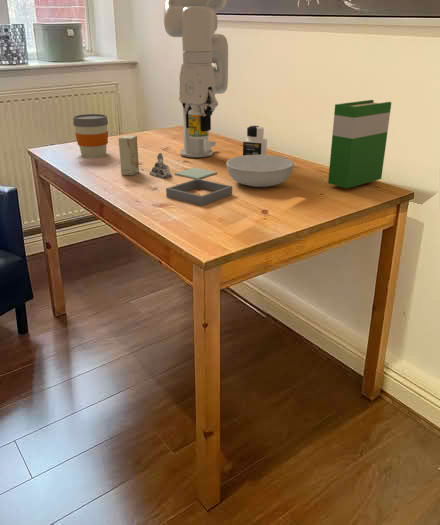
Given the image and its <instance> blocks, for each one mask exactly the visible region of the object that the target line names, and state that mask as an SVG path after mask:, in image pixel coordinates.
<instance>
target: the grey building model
mask: <svg viewBox="0 0 440 525" xmlns="http://www.w3.org/2000/svg"><path fill="white" fill-rule="evenodd" d="M170 170H171V169H170V167H169V165H168V164H167V165H166V163H164V156H163V154H162V152H160V153H157V162H155V163H154V166H153V167H152V169H151V171H149V175H150V176H153V177H156V178H160V179H167V178H171V177H172V173H171V171H170Z"/></svg>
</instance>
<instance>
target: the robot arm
mask: <svg viewBox="0 0 440 525" xmlns="http://www.w3.org/2000/svg"><path fill="white" fill-rule="evenodd" d="M226 5H227V0H166V1H165V4H164V10H163V11H164V12H163V14H164V15H163V24H164V29H165V32H166V33H167V35H168V36H169V37H172V38H181V39H182V42H181V43H182V64H181V67H180V72H179V98H178V100H179V102H180V103H181V104H182V122H183V124H182V125H183V127H182V128H183V131H182V132H183V149H181V150H180V151H179V154H180V155H181V156H182V157H186V158H207V157H211V156H213V154H214V151H213V150H212V149H211V148H212V147H215V146H216V145H217V142H216V141H215V140H211V141H210V136H209V135H210V132H209V131H211V130H212V125H211V124H212V120H211V118H212V116H213V112H214V111H215V109H216V108H217V107H218V105H219V102H218V100H217V98H216V95H219V94H220V95H221V94H224V93H225V92H227V90H228V86H229V44H228V40H227V37H226V36H225V35H224V34H221V33H216V31H217V30H218V25H219V24H218V22H219V21H218V14H217V13H216V12H215V10H216V11H217V10H222V9H224V8H225V7H226ZM213 64H214V65H215V66H213ZM204 103H205V104H204ZM191 104H193V105H200V108H201V112H202V116H201V117H200V124H201V131H208V138H206V139H191V138H190V137H189V117H188V113H189V111H190V110H191V109H192V108H191Z"/></svg>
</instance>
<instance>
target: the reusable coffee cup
mask: <svg viewBox="0 0 440 525" xmlns="http://www.w3.org/2000/svg"><path fill="white" fill-rule="evenodd" d="M107 116H108V115H105V114H101V113H100V114H99V113H86V114H78V115H74V116H73V117H72V118H73V122H72V123H73V124H72V125H73V126H74V129H75V132H74V135H75V138H76V142H77V146H78V147H79V151H80V154H81V157H84V158H92V159H93V158H101V157H105V156H106V155H107V144H108V142H109V140H108V139H109V131H108V124H109V122H108V117H107Z"/></svg>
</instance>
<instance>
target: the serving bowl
mask: <svg viewBox="0 0 440 525" xmlns="http://www.w3.org/2000/svg"><path fill="white" fill-rule="evenodd" d="M294 163H295V162H294V161H293V160H292V159H289V158H288V157H283V156H281V155H279V156H278V155H271V154H266V155H244V156H243V155H239V156H235V157H232V158H229V159H227V161H226V164H225V166H226V170H227V173H228V174H229V176H230V178H232V180H234V181H235V182H237V183H239V184H241V185H244V186H247V187H248V186H249V187H253V188H268V187H272V186H277V185H279V184H282V183H284V182H285V181H287V180H288V179H289V178H290V176H291V174H292V173H293V169H294V165H295V164H294Z"/></svg>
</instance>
